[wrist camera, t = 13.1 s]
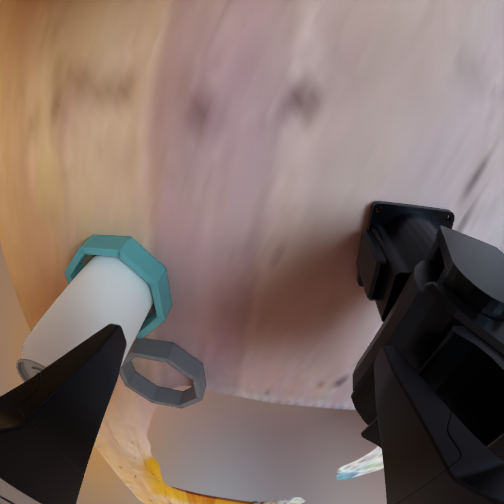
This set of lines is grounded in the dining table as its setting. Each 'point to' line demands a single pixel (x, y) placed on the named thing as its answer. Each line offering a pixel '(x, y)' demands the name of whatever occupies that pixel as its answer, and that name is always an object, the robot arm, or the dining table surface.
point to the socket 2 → (172, 357)
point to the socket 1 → (137, 262)
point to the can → (87, 313)
